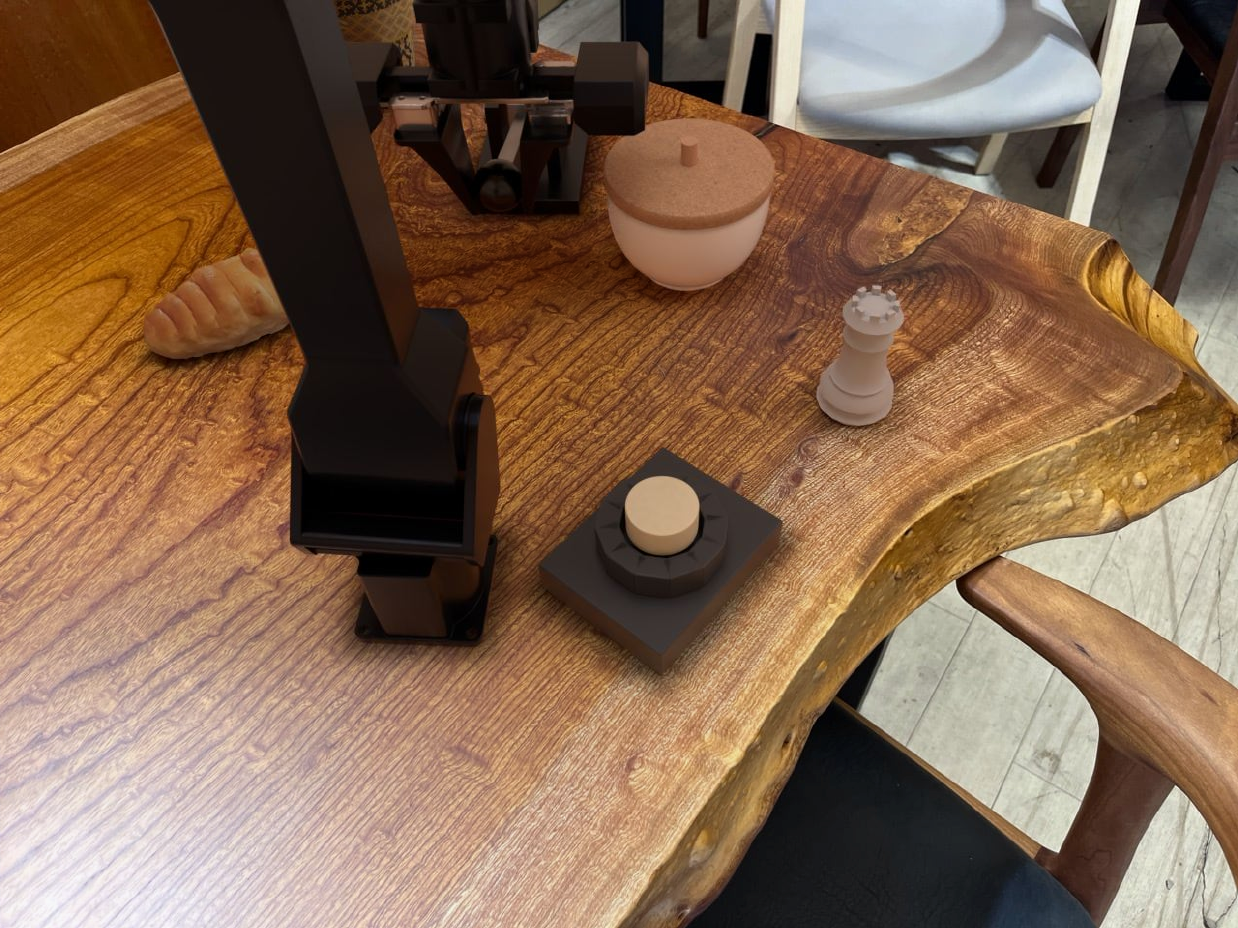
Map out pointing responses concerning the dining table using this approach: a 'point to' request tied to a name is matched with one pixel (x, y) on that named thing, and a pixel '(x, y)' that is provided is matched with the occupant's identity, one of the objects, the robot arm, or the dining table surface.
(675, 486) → the button
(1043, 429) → the dining table surface
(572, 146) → the lever bracket
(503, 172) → the lever handle
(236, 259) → the pastry
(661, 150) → the trinket box
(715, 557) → the button housing
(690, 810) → the dining table surface
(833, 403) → the rook chess piece
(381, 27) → the ceramic cup
